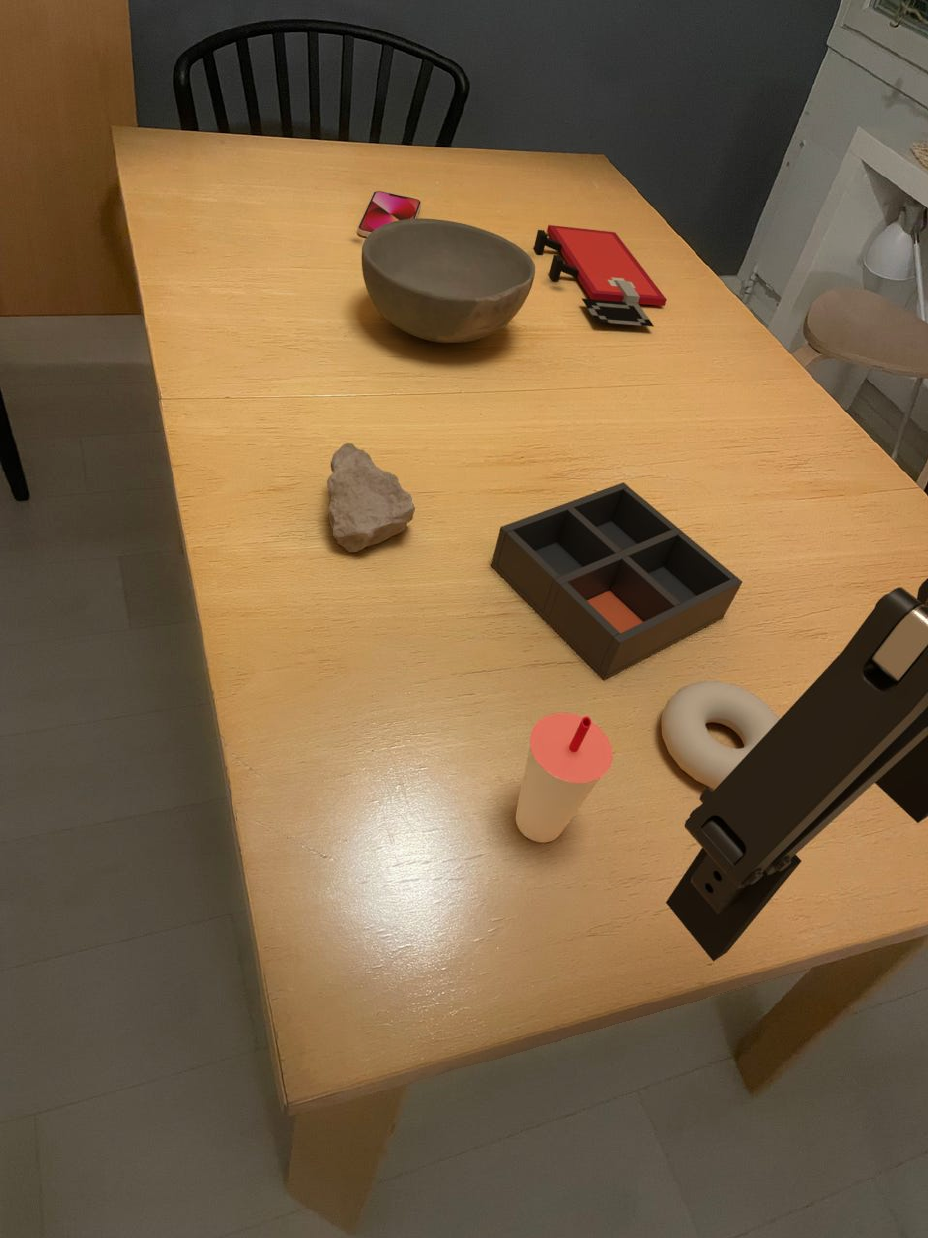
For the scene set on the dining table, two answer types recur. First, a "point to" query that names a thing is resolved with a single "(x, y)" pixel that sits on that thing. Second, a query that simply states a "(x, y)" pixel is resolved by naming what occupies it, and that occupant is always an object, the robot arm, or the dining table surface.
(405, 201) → the smartphone
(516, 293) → the bowl
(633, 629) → the grid
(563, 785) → the cup
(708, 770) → the donut
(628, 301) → the red board with handle
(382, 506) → the stone
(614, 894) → the dining table surface
